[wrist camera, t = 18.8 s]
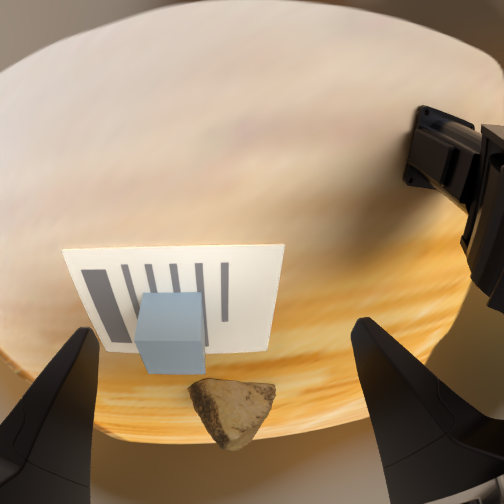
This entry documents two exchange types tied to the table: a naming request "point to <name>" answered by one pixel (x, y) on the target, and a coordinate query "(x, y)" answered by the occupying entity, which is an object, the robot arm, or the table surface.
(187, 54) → the table surface
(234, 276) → the letter
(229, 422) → the rock
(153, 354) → the cube
